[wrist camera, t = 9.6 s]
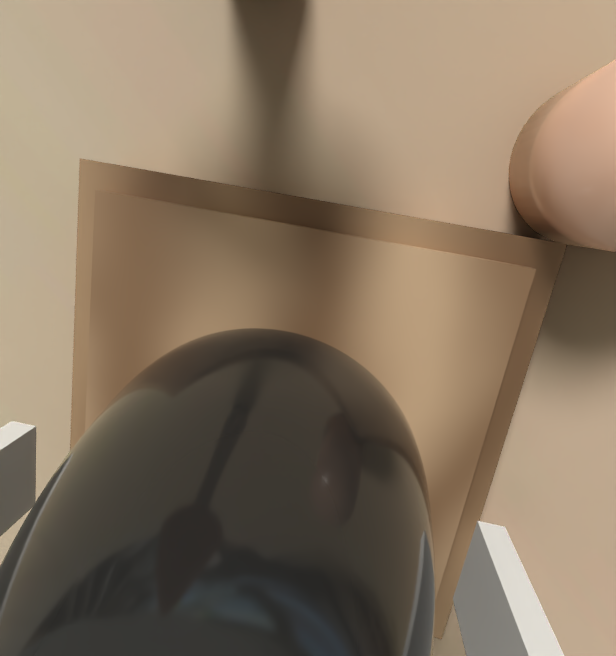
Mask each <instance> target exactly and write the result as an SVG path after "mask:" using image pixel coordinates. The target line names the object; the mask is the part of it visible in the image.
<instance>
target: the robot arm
mask: <svg viewBox="0 0 616 656" xmlns="http://www.w3.org/2000/svg"><path fill="white" fill-rule="evenodd" d="M35 487H36V426H33V425H29V424H24V423H19V422H15V421H11V422H9V423H8V424H6V425H4V426H3V427H1V428H0V536H1V535H2V534H3V533H5V532H6V531H7V530H8V529H9V528H10V527H11V526H12V525H13V524H14V523H16V522H17V521H18V520H19V519H20V518H21V517H22V516H23V515H24V514H25V513H27V512H28V511H29V510H30V509H31V508H32V507H33V506H34V504H35ZM453 602H454V606H455V610H456V614H457V618H458V622H459V627H460V631H461V635H462V639H463V643H464V647H465V652H466V656H564V654H563V652H562V650H561V647H560V645H559V643H558V641H557V639H556V637H555V634H554V632H553V630H552V628H551V626H550V624H549V621H548V619H547V617H546V615H545V613H544V611H543V608H542V606H541V604H540V602H539V600H538V598H537V595H536V593H535V591H534V589H533V587H532V584H531V582H530V580H529V578H528V576H527V574H526V571H525V569H524V567H523V565H522V563H521V561H520V558H519V556H518V554H517V552H516V550H515V548H514V545H513V543H512V541H511V539H510V537H509V534H508V532H507V530H506V528H505V527H504V526H499V525H495V524H490V523H485V522H481V521H477V524H476V527H475V530H474V533H473V536H472V540H471V543H470V546H469V549H468V552H467V555H466V559H465V562H464V565H463V568H462V571H461V574H460V577H459V581H458V584H457V587H456V590H455V593H454V596H453Z"/></svg>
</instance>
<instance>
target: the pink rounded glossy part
mask: <svg viewBox="0 0 616 656" xmlns="http://www.w3.org/2000/svg"><path fill="white" fill-rule="evenodd" d="M509 185H510V191H511V195H512V199H513V201H514V204H515V206H516V208H517V210H518V212H519V214H520V215H521V217H522V218H523V219H524V221H525V222H526V223H527V224H528V225H529V226H530V227H531V228H532V229H533V230H535V231H536V232H537V233H539V234H540V235H542V236H544V237H546V238H548V239H550V240H553V241H556V242H559V243H564V244H568V245H574V246H581V247H587V248H593V249H600V250H606V251H612V252H616V60H614V61H613V62H611V63H609V64H607V65H606V66H604V67H602V68H601V69H599V70H597V71H595V72H594V73H592V74H590V75H588V76H587V77H585V78H583V79H582V80H580V81H578V82H576V83H575V84H573V85H571V86H570V87H568V88H566V89H564V90H563V91H561V92H559V93H558V94H556V95H555V96H553V97H552V98H550V99H549V100H547V101H546V102H545V103H544V104H543V105H542V106H540V107H539V108H538V109H537V110H536V112H535V113H534V114H533V115H532V116H531V117H530V118H529V120H528V121H527V123H526V124H525V125H524V127H523V129H522V130H521V132H520V134H519V136H518V138H517V140H516V143H515V145H514V148H513V151H512V155H511V159H510V165H509Z"/></svg>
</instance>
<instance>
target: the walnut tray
mask: <svg viewBox="0 0 616 656" xmlns="http://www.w3.org/2000/svg"><path fill="white" fill-rule="evenodd" d="M566 247H567V244H564V243H558V242H552V241H547V240H541V239H535V238H529V237H524V236H518V235H512V234H507V233H501V232H495V231H490V230H484V229H478V228H473V227H467V226H461V225H455V224H450V223H444V222H438V221H433V220H427V219H421V218H416V217H410V216H404V215H399V214H393V213H387V212H381V211H376V210H370V209H364V208H359V207H353V206H347V205H342V204H336V203H330V202H325V201H319V200H313V199H307V198H302V197H296V196H290V195H285V194H279V193H273V192H268V191H262V190H256V189H250V188H245V187H239V186H233V185H228V184H222V183H216V182H211V181H205V180H199V179H194V178H188V177H182V176H176V175H171V174H165V173H159V172H154V171H148V170H142V169H137V168H131V167H125V166H120V165H114V164H108V163H102V162H97V161H91V160H85V159H80V168H79V198H78V228H77V259H76V289H75V319H74V349H73V380H72V410H71V440H70V451H71V449H72V448H73V447H74V445H75V444H76V443H77V442H78V440H79V439H80V438H81V436H82V435H83V434H84V433H85V431H86V430H87V429H88V428H89V427H90V425H91V424H92V423H93V422H94V421H95V419H96V418H97V417H98V416H99V415H100V414H101V412H102V411H103V410H104V409H105V408H106V407H107V405H108V404H109V403H110V402H111V401H112V400H113V399H114V398H115V396H116V395H117V394H118V393H119V392H120V391H121V390H122V389H123V388H124V387H125V386H126V385H127V384H128V383H129V382H130V381H131V380H132V379H133V378H134V377H136V376H137V375H138V374H139V373H140V372H142V371H143V370H144V369H145V368H146V367H148V366H149V365H150V364H152V363H153V362H154V361H156V360H157V359H159V358H160V357H162V356H163V355H165V354H166V353H168V352H170V351H171V350H173V349H175V348H177V347H178V346H180V345H182V344H185V343H187V342H189V341H191V340H194V339H196V338H199V337H202V336H205V335H209V334H212V333H216V332H221V331H226V330H233V329H243V328H265V329H276V330H283V331H288V332H293V333H297V334H301V335H304V336H308V337H311V338H313V339H316V340H319V341H321V342H324V343H326V344H328V345H330V346H332V347H334V348H336V349H338V350H340V351H341V352H343V353H345V354H347V355H348V356H350V357H351V358H353V359H354V360H355V361H357V362H358V363H360V364H361V365H362V366H363V367H365V368H366V369H367V370H368V371H369V372H370V373H372V374H373V375H374V376H375V377H376V378H377V379H378V380H379V381H380V382H381V383H382V385H383V386H384V387H385V388H386V389H387V390H388V392H389V393H390V394H391V395H392V397H393V398H394V400H395V401H396V403H397V404H398V406H399V407H400V409H401V410H402V412H403V414H404V416H405V418H406V420H407V421H408V424H409V426H410V428H411V430H412V433H413V435H414V438H415V440H416V443H417V446H418V449H419V452H420V455H421V459H422V463H423V466H424V471H425V475H426V480H427V486H428V493H429V501H430V510H431V519H432V528H433V540H434V556H435V625H434V637H435V638H439V639H442V636H443V633H444V630H445V627H446V624H447V621H448V617H449V614H450V611H451V608H452V605H453V596H454V593H455V590H456V587H457V584H458V581H459V577H460V574H461V571H462V568H463V565H464V562H465V559H466V555H467V552H468V549H469V546H470V543H471V540H472V536H473V533H474V530H475V527H476V524H477V521H479V520H480V517H481V514H482V511H483V507H484V504H485V501H486V498H487V495H488V492H489V489H490V485H491V482H492V479H493V476H494V473H495V470H496V467H497V463H498V460H499V457H500V454H501V451H502V448H503V445H504V441H505V438H506V435H507V432H508V429H509V426H510V423H511V419H512V416H513V413H514V410H515V407H516V404H517V401H518V397H519V394H520V391H521V388H522V385H523V382H524V379H525V375H526V372H527V369H528V366H529V363H530V360H531V357H532V353H533V350H534V347H535V344H536V341H537V338H538V335H539V331H540V328H541V325H542V322H543V319H544V316H545V313H546V309H547V306H548V303H549V300H550V297H551V294H552V291H553V287H554V284H555V281H556V278H557V275H558V272H559V269H560V265H561V262H562V259H563V256H564V253H565V250H566Z"/></svg>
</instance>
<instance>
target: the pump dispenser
mask: <svg viewBox="0 0 616 656" xmlns="http://www.w3.org/2000/svg"><path fill="white" fill-rule="evenodd" d="M434 625H435V556H434V540H433V528H432V519H431V510H430V501H429V493H428V486H427V480H426V475H425V471H424V466H423V463H422V459H421V455H420V452H419V449H418V446H417V443H416V440H415V438H414V435H413V433H412V430H411V428H410V426H409V424H408V421H407V420H406V418H405V416H404V414H403V412H402V410H401V409H400V407H399V406H398V404H397V403H396V401H395V400H394V398H393V397H392V395H391V394H390V393H389V392H388V390H387V389H386V388H385V387H384V386H383V385H382V383H381V382H380V381H379V380H378V379H377V378H376V377H375V376H374V375H373V374H372V373H370V372H369V371H368V370H367V369H366V368H365V367H363V366H362V365H361V364H360V363H358V362H357V361H355V360H354V359H353V358H351V357H350V356H348V355H347V354H345V353H343V352H341V351H340V350H338V349H336V348H334V347H332V346H330V345H328V344H326V343H324V342H321V341H319V340H316V339H313V338H311V337H308V336H304V335H301V334H297V333H293V332H288V331H283V330H276V329H265V328H243V329H233V330H226V331H221V332H216V333H212V334H209V335H205V336H202V337H199V338H196V339H194V340H191V341H189V342H187V343H185V344H182V345H180V346H178V347H177V348H175V349H173V350H171V351H170V352H168V353H166V354H165V355H163V356H162V357H160V358H159V359H157V360H156V361H154V362H153V363H152V364H150V365H149V366H148V367H146V368H145V369H144V370H143V371H142V372H140V373H139V374H138V375H137V376H136V377H134V378H133V379H132V380H131V381H130V382H129V383H128V384H127V385H126V386H125V387H124V388H123V389H122V390H121V391H120V392H119V393H118V394H117V395H116V396H115V398H114V399H113V400H112V401H111V402H110V403H109V404H108V405H107V407H106V408H105V409H104V410H103V411H102V412H101V414H100V415H99V416H98V417H97V418H96V419H95V421H94V422H93V423H92V424H91V425H90V427H89V428H88V429H87V430H86V431H85V433H84V434H83V435H82V436H81V438H80V439H79V440H78V442H77V443H76V444H75V445H74V447H73V448H72V449H71V451H70V452H69V453H68V455H67V456H66V457H65V459H64V460H63V462H62V463H61V464H60V466H59V467H58V469H57V470H56V472H55V473H54V475H53V476H52V478H51V479H50V481H49V482H48V484H47V485H46V487H45V488H44V490H43V491H42V493H41V495H40V496H39V498H38V499H37V501H36V503H35V504H34V506H33V508H32V509H31V511H30V513H29V514H28V516H27V518H26V520H25V521H24V523H23V525H22V527H21V528H20V530H19V532H18V534H17V535H16V537H15V539H14V541H13V543H12V544H11V546H10V548H9V550H8V552H7V554H6V556H5V558H4V560H3V561H2V563H1V565H0V656H432V655H433V642H434Z"/></svg>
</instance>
